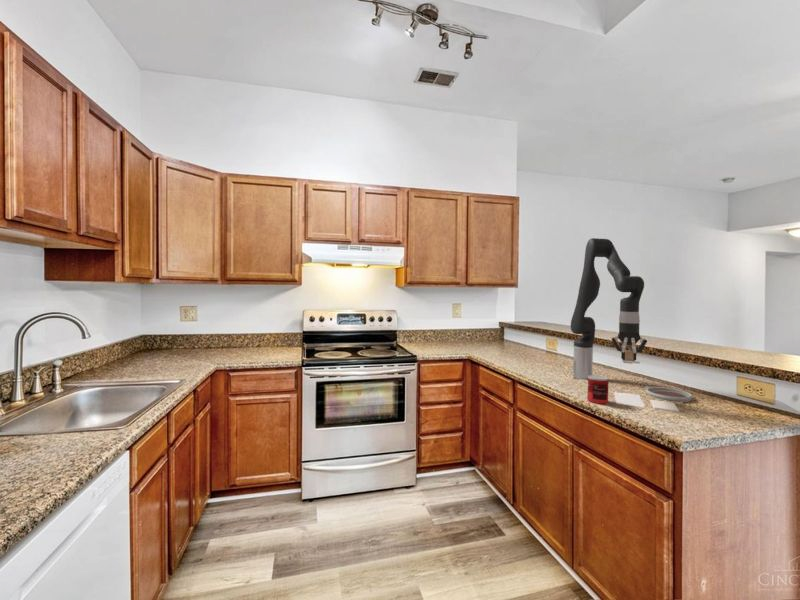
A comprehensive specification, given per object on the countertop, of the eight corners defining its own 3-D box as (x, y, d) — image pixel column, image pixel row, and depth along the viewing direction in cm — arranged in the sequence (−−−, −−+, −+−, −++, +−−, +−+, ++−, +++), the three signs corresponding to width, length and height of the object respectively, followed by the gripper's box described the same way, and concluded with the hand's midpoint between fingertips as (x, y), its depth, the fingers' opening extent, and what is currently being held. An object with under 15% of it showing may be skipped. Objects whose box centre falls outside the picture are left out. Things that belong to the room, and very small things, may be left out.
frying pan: (655, 381, 183) (703, 396, 155) (655, 387, 183) (703, 403, 155) (622, 381, 182) (664, 397, 154) (622, 387, 182) (664, 404, 154)
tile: (650, 403, 155) (654, 411, 145) (650, 399, 155) (654, 407, 145) (673, 406, 152) (679, 414, 142) (673, 402, 152) (679, 410, 142)
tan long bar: (619, 362, 165) (619, 351, 166) (635, 363, 163) (635, 352, 163) (622, 361, 152) (622, 349, 153) (639, 363, 149) (639, 350, 150)
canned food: (596, 398, 160) (596, 374, 160) (612, 404, 153) (613, 378, 153) (583, 400, 158) (583, 375, 157) (599, 406, 150) (599, 380, 150)
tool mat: (616, 404, 152) (616, 403, 152) (613, 393, 169) (613, 392, 169) (645, 408, 148) (645, 407, 148) (639, 395, 164) (639, 394, 164)
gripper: (647, 321, 159) (646, 361, 160) (610, 320, 166) (609, 358, 166) (649, 323, 153) (649, 364, 153) (611, 321, 159) (610, 361, 160)
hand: (628, 360), depth 160 cm, fingers closed on tan long bar, 2 cm apart
